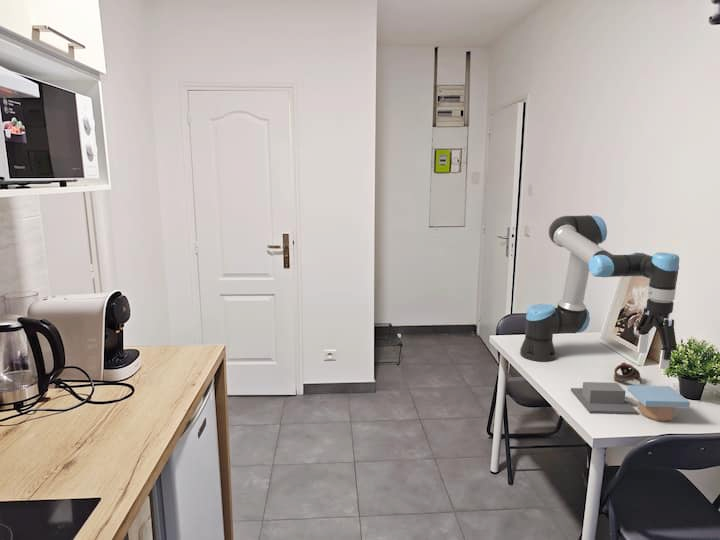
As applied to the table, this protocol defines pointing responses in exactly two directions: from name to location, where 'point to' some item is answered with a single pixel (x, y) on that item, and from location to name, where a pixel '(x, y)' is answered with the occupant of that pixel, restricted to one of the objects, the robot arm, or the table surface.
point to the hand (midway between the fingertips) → (652, 360)
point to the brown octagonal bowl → (657, 412)
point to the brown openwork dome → (627, 373)
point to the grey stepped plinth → (603, 398)
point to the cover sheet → (658, 396)
